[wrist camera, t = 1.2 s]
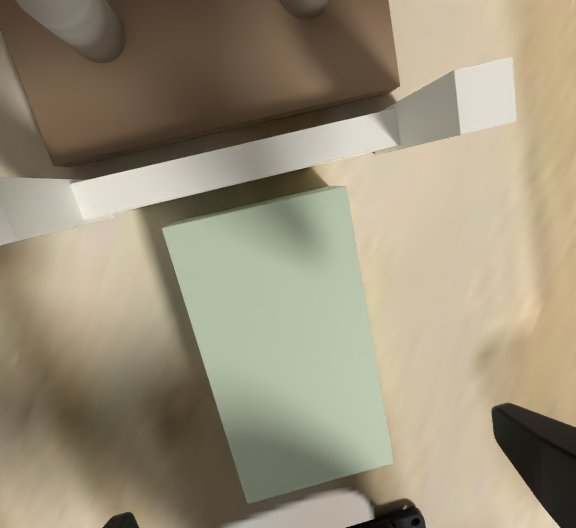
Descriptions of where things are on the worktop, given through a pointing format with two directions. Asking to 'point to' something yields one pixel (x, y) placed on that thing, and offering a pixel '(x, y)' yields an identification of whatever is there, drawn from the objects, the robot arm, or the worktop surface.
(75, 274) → the worktop surface
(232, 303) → the board
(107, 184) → the u-shaped frame
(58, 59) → the peg stand
